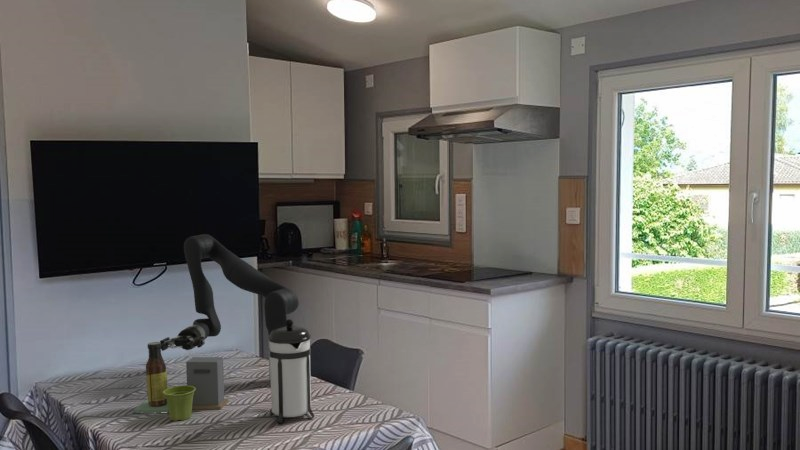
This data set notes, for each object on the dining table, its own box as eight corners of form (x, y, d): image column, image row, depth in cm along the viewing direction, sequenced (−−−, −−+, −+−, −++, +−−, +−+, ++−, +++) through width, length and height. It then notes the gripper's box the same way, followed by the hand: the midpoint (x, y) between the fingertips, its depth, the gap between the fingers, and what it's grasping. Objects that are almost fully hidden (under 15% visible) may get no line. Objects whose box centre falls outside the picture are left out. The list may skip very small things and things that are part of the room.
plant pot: (178, 425, 200) (177, 396, 199) (157, 419, 205) (156, 391, 204) (203, 415, 208) (202, 388, 207) (182, 410, 213) (181, 383, 212)
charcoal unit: (228, 401, 221) (227, 356, 220) (220, 409, 213) (219, 362, 212) (192, 401, 222) (190, 356, 221) (183, 409, 214) (181, 362, 213)
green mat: (181, 401, 222) (181, 398, 222) (168, 413, 211) (168, 409, 211) (148, 401, 222) (148, 398, 222) (133, 413, 211) (133, 409, 211)
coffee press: (327, 410, 211) (325, 315, 209) (298, 427, 196) (296, 326, 194) (280, 403, 218) (278, 312, 216) (250, 419, 204) (247, 321, 202)
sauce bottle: (172, 401, 218) (170, 341, 217) (159, 408, 212) (157, 345, 211) (155, 400, 220) (153, 340, 219) (142, 406, 215) (140, 344, 213)
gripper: (171, 327, 244) (153, 336, 228) (210, 326, 244) (195, 335, 227) (172, 347, 245) (154, 358, 229) (211, 346, 244) (196, 357, 228)
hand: (174, 347), depth 228 cm, fingers open, 8 cm apart
